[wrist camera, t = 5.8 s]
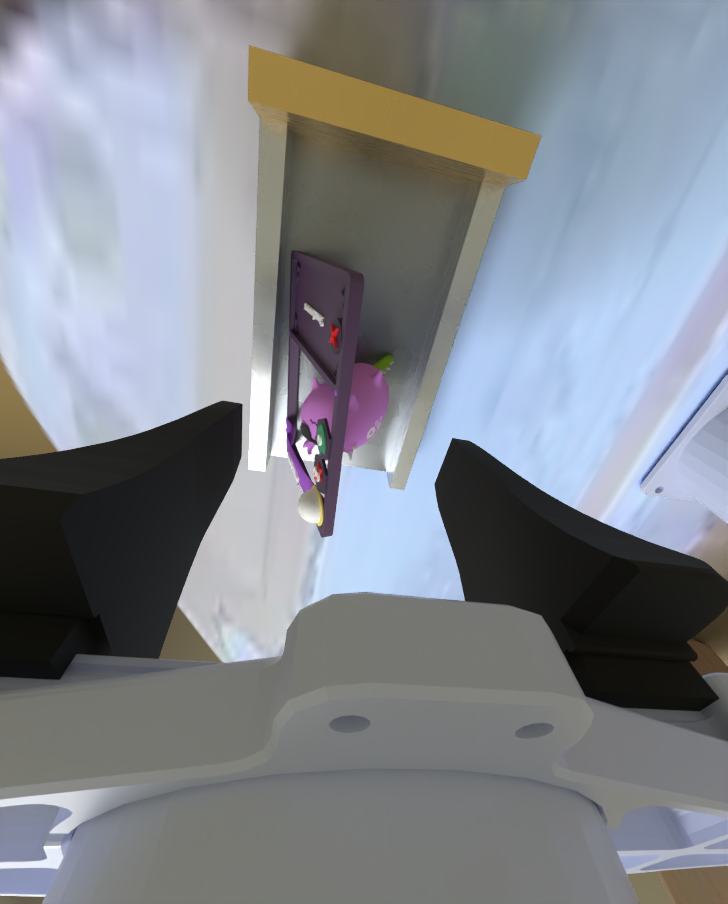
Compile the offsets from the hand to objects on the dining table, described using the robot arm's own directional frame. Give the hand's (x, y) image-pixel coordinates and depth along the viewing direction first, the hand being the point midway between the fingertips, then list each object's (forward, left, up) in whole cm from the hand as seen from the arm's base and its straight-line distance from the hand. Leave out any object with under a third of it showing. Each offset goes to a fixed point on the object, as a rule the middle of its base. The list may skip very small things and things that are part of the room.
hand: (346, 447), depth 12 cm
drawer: (0, -2, -6) cm, 7 cm away
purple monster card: (0, -1, -6) cm, 6 cm away
